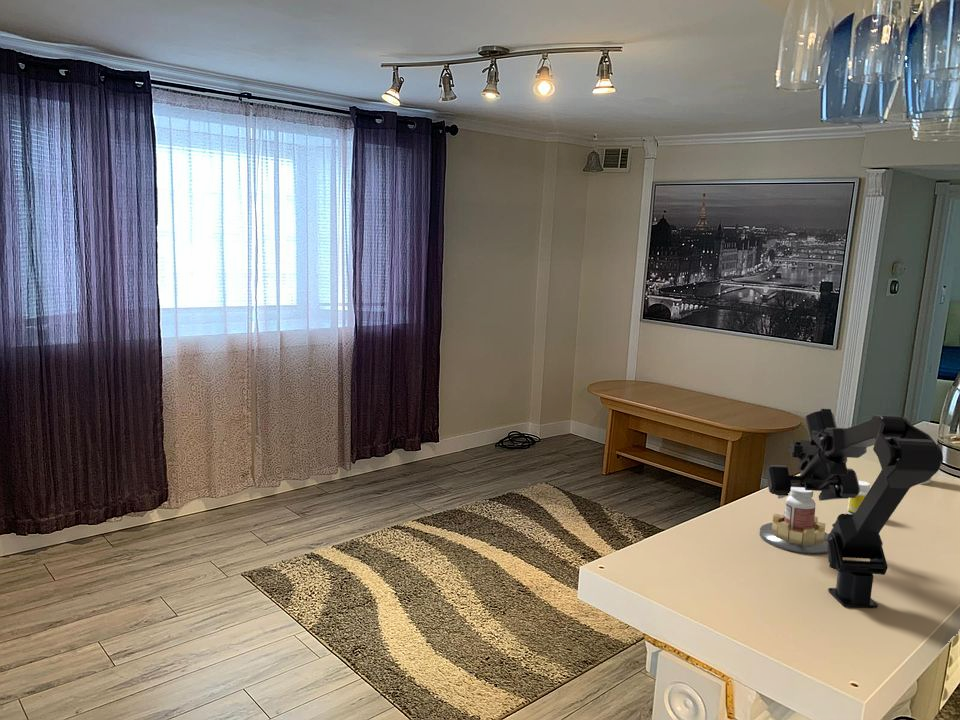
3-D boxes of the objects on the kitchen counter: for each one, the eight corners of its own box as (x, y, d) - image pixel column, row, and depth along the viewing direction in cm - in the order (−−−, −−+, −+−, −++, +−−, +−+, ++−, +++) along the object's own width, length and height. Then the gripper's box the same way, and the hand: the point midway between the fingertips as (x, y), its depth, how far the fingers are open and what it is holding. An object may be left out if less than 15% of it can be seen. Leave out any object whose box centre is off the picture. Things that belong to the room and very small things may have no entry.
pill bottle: (817, 536, 164) (822, 490, 163) (804, 543, 160) (809, 495, 159) (791, 528, 169) (795, 482, 167) (777, 534, 165) (782, 487, 164)
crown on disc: (849, 555, 157) (852, 534, 157) (776, 553, 157) (779, 532, 156) (815, 527, 173) (817, 507, 172) (748, 525, 173) (750, 506, 172)
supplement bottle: (870, 519, 180) (874, 486, 178) (850, 517, 180) (853, 484, 179) (864, 512, 184) (868, 480, 183) (844, 510, 185) (848, 478, 184)
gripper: (860, 434, 157) (832, 467, 169) (772, 430, 157) (751, 464, 170) (873, 481, 150) (844, 512, 163) (781, 476, 151) (759, 508, 164)
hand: (799, 497), depth 165 cm, fingers open, 9 cm apart
